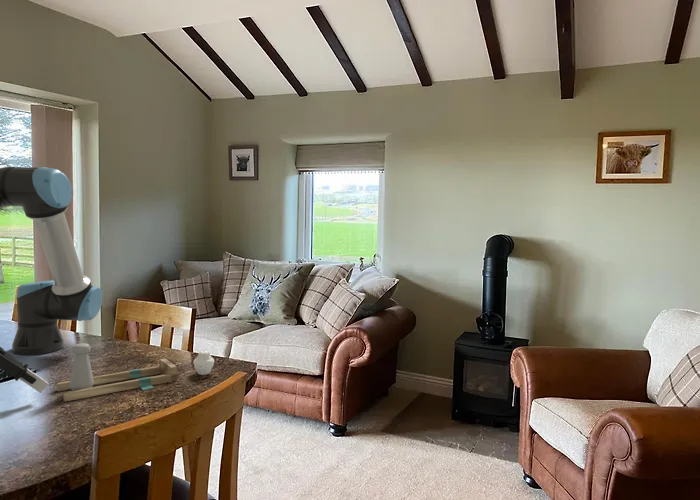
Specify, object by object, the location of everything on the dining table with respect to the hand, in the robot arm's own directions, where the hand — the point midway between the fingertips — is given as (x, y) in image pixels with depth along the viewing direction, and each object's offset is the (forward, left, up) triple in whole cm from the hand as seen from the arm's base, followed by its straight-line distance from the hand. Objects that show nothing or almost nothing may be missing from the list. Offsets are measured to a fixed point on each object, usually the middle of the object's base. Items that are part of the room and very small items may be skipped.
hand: (44, 387), depth 132 cm
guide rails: (-1, +18, -3) cm, 19 cm away
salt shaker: (-1, +9, -3) cm, 10 cm away
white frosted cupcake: (+2, +42, -3) cm, 42 cm away
